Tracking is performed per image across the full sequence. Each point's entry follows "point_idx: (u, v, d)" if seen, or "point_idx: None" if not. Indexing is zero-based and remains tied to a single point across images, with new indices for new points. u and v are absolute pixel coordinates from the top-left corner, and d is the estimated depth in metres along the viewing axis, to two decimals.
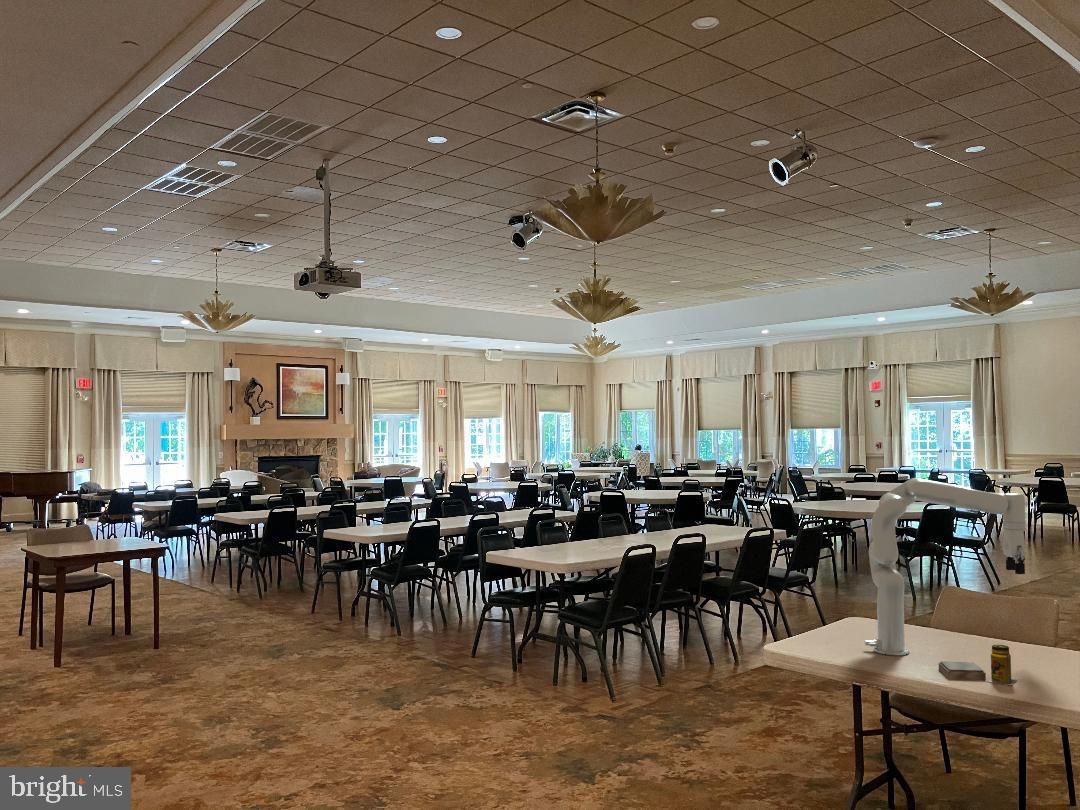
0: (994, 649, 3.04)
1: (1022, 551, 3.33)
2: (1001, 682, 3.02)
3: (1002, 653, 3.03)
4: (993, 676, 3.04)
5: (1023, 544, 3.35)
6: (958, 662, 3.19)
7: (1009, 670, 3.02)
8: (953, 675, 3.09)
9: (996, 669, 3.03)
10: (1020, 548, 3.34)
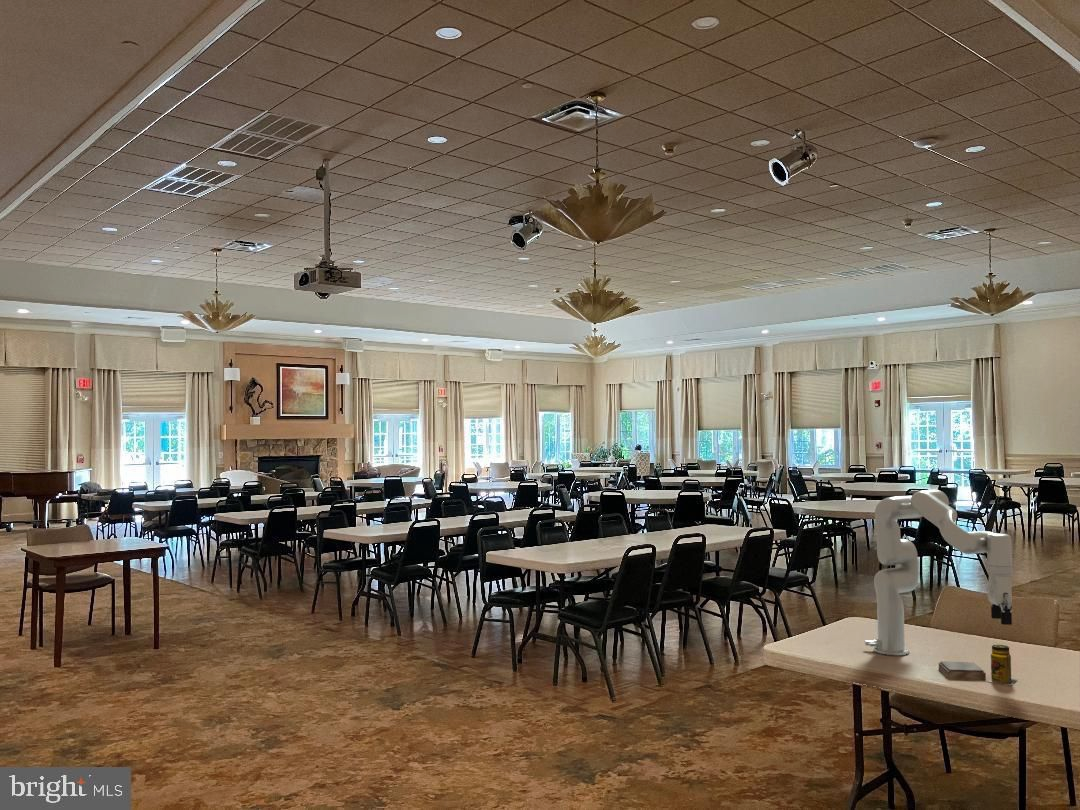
0: (994, 649, 3.04)
1: (1008, 599, 2.99)
2: (1001, 682, 3.02)
3: (1002, 653, 3.03)
4: (993, 676, 3.04)
5: (1010, 591, 3.01)
6: (958, 662, 3.19)
7: (1009, 670, 3.02)
8: (953, 675, 3.09)
9: (996, 669, 3.03)
10: (1006, 596, 3.00)
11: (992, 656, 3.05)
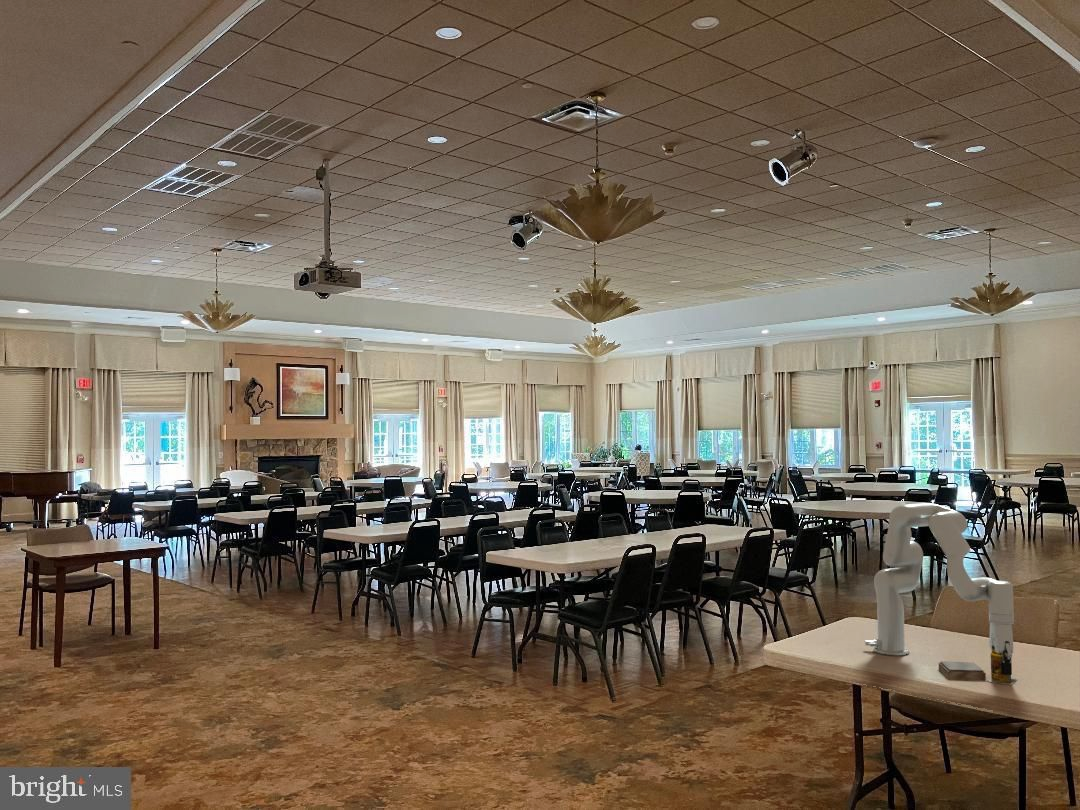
0: (994, 649, 3.05)
1: (1009, 652, 2.99)
2: (1001, 681, 3.03)
3: None
4: (993, 675, 3.05)
5: (1011, 639, 3.01)
6: (958, 662, 3.19)
7: None
8: (953, 675, 3.09)
9: (996, 669, 3.04)
10: (1007, 647, 3.00)
11: (992, 655, 3.05)
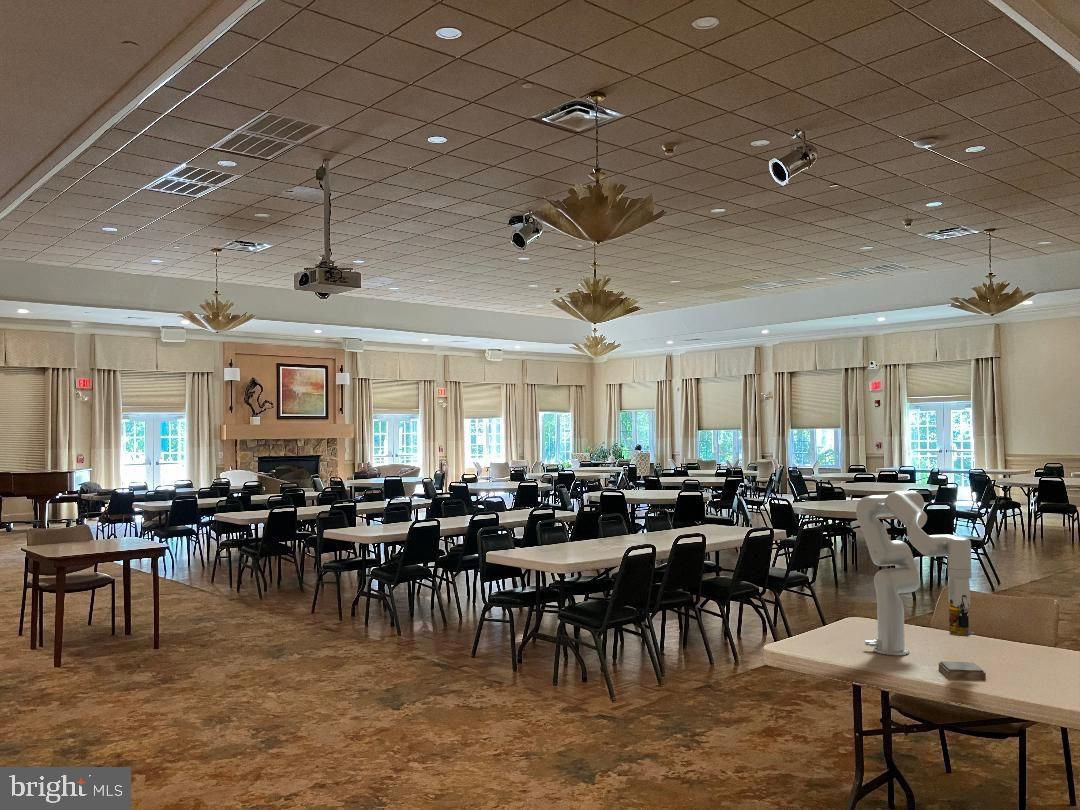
0: (952, 602, 3.14)
1: (966, 605, 3.08)
2: (958, 634, 3.12)
3: None
4: (951, 629, 3.14)
5: (968, 593, 3.10)
6: (958, 662, 3.19)
7: None
8: (953, 675, 3.09)
9: (954, 622, 3.13)
10: (964, 600, 3.09)
11: (950, 609, 3.15)
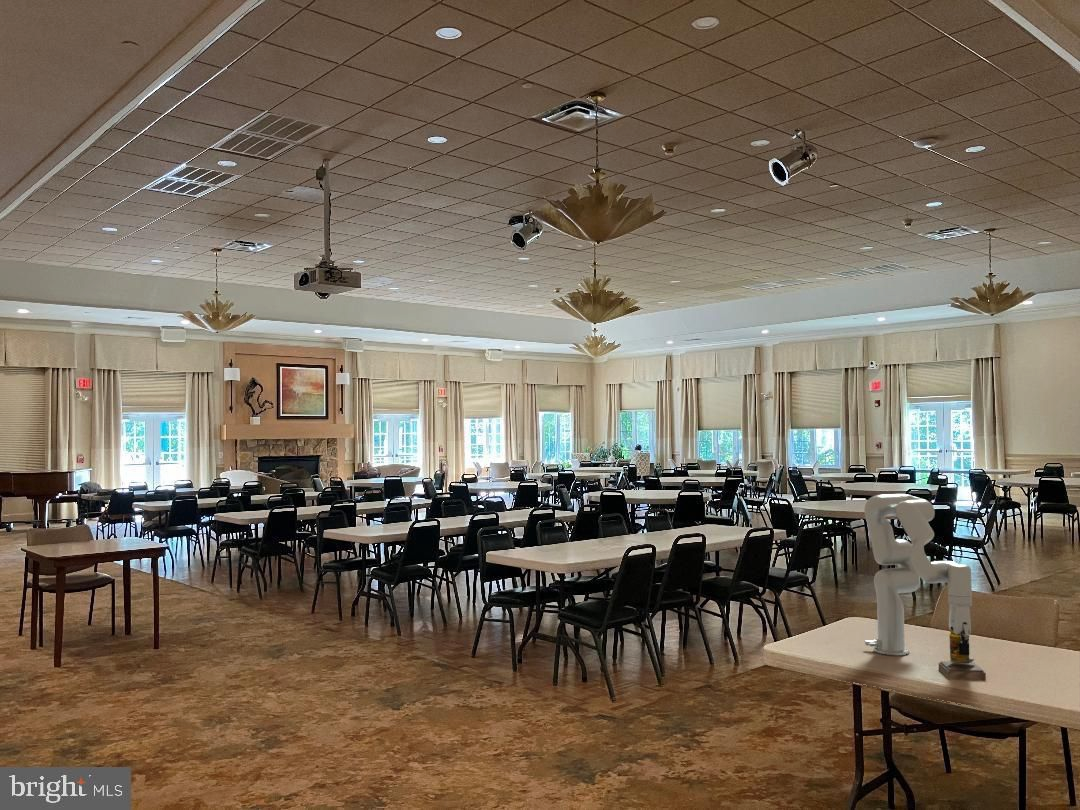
0: (952, 630, 3.14)
1: (967, 632, 3.08)
2: (959, 661, 3.12)
3: None
4: (952, 656, 3.14)
5: (969, 620, 3.10)
6: None
7: None
8: (953, 675, 3.09)
9: (954, 649, 3.13)
10: (965, 627, 3.09)
11: (950, 636, 3.14)
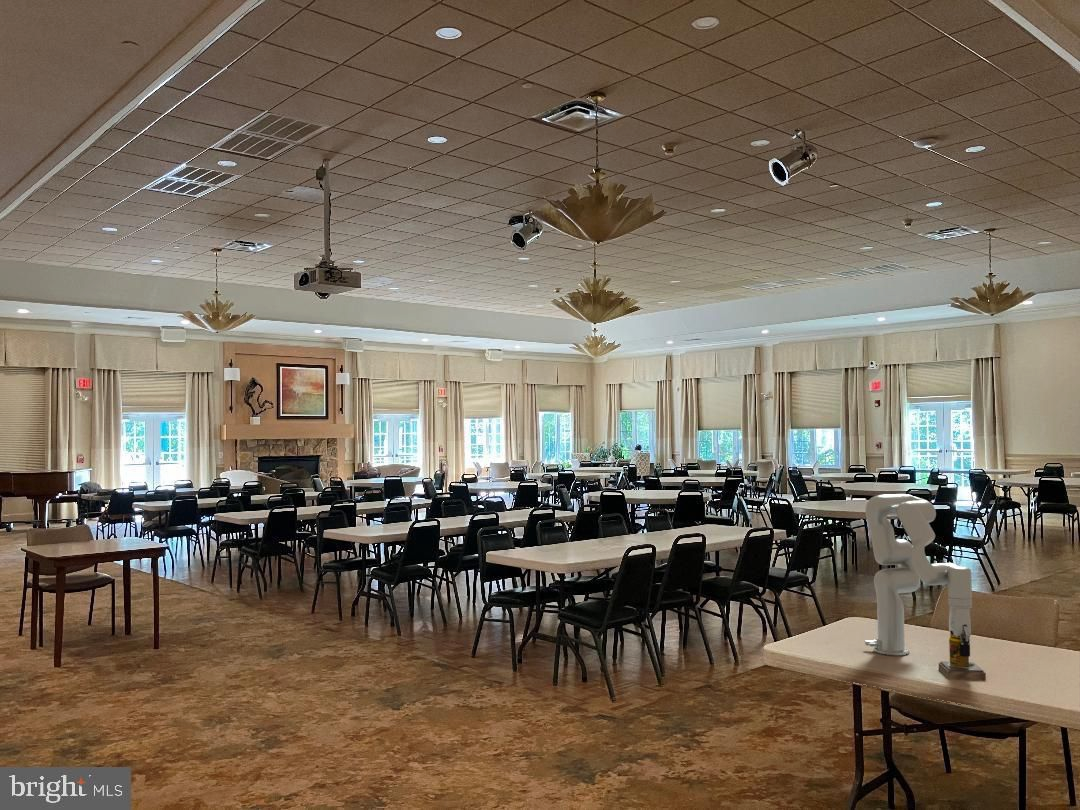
0: (952, 634, 3.14)
1: (967, 633, 3.07)
2: (959, 666, 3.12)
3: None
4: (951, 660, 3.14)
5: (969, 623, 3.10)
6: None
7: None
8: (953, 675, 3.09)
9: (954, 653, 3.13)
10: (965, 628, 3.09)
11: (950, 640, 3.15)
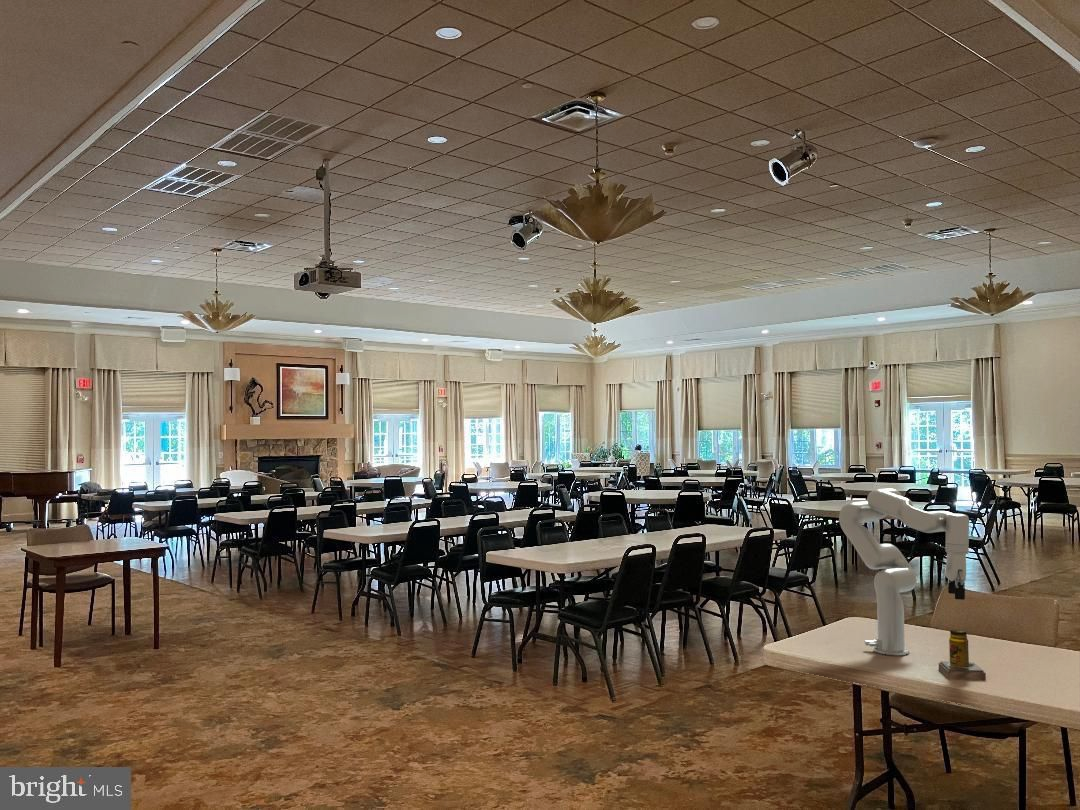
0: (952, 634, 3.14)
1: (962, 576, 3.16)
2: (959, 666, 3.12)
3: (960, 637, 3.12)
4: (951, 660, 3.14)
5: (964, 568, 3.19)
6: None
7: (966, 654, 3.12)
8: (953, 675, 3.09)
9: (954, 653, 3.13)
10: (960, 572, 3.18)
11: (950, 640, 3.15)
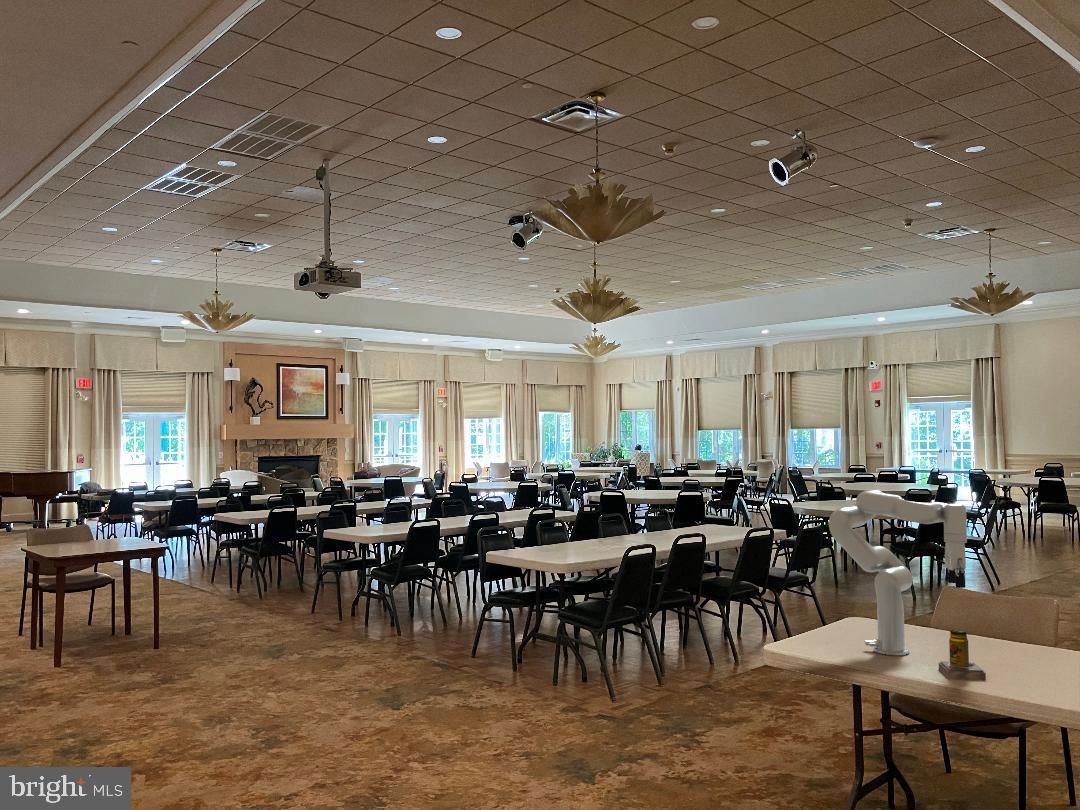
0: (952, 634, 3.14)
1: (962, 564, 3.22)
2: (959, 666, 3.12)
3: (960, 637, 3.12)
4: (951, 660, 3.14)
5: (964, 556, 3.25)
6: None
7: (966, 654, 3.12)
8: (953, 675, 3.09)
9: (954, 653, 3.13)
10: (960, 561, 3.24)
11: (950, 640, 3.15)
